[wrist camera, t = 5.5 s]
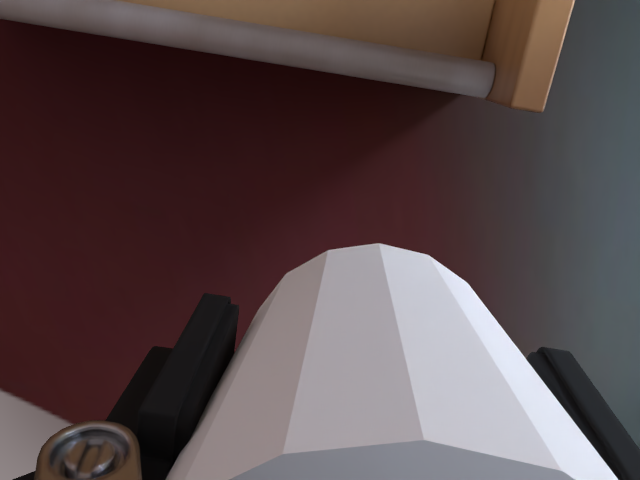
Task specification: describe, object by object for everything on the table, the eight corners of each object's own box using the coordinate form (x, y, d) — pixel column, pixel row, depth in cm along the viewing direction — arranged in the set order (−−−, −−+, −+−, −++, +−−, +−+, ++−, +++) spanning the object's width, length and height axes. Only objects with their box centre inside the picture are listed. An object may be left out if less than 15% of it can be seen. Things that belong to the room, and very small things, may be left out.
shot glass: (582, 294, 12) (871, 608, 5) (430, 509, 14) (502, 914, 8) (294, 162, 11) (218, 336, 5) (183, 411, 13) (27, 764, 7)
